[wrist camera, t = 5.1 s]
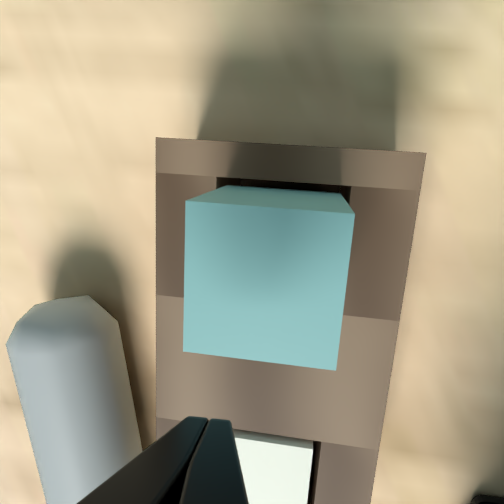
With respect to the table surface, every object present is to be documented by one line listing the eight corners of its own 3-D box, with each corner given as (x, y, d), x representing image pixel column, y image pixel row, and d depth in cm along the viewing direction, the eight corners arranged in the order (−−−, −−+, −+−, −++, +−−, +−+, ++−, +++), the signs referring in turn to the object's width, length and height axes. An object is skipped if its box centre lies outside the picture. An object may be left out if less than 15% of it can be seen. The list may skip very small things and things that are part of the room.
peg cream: (313, 380, 21) (312, 449, 16) (305, 446, 22) (303, 530, 17) (236, 370, 21) (213, 434, 16) (232, 435, 22) (210, 513, 17)
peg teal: (340, 193, 14) (355, 213, 9) (328, 300, 15) (335, 370, 10) (227, 185, 14) (185, 200, 10) (223, 289, 15) (182, 351, 11)
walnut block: (395, 152, 18) (426, 152, 13) (349, 475, 22) (360, 565, 17) (195, 141, 19) (155, 137, 14) (188, 449, 23) (156, 528, 18)
